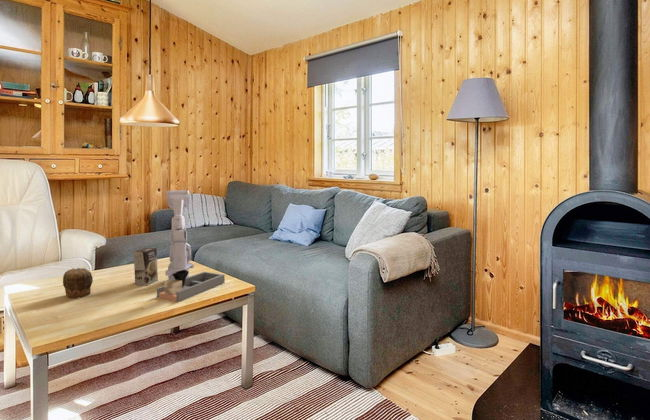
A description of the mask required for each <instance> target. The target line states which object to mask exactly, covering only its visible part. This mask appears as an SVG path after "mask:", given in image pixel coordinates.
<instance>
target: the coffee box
mask: <svg viewBox="0 0 650 420" xmlns="http://www.w3.org/2000/svg"><path fill="white" fill-rule="evenodd" d="M157 251H158V250H157V247H144V248H140V249H137V250H134V251H133V263H134V265H133V267H134V285H135V286H146V287H147V286H149V285H151V284H153V283H156V282H158V281H159V275H158V273H159V272H158V252H157Z"/></svg>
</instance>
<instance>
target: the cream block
mask: <svg viewBox="0 0 650 420" xmlns="http://www.w3.org/2000/svg"><path fill="white" fill-rule="evenodd" d="M163 283H164V284H163V286H164V288H165V294H169V295H176V292H178V291H181V290H182V280H176V279H172V280H169V281H167V280H166V281H164V282H163Z"/></svg>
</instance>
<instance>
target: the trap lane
mask: <svg viewBox="0 0 650 420" xmlns="http://www.w3.org/2000/svg"><path fill="white" fill-rule="evenodd" d="M225 281H226V280H225V274H222V273H215V272H210V271H202V272H199V273H195V274H193V275H189V277H187V278H186V279H185V283H184V287H183V288H182V290H181V291H178V292H176V295H169V294H165V288H164V285H162V286H159V287H157V288H156V298H159V299H162V300H163V299H164V300H169V301H174V302H178V303H179V302H182V301H184V300H187V299H189V298H192V297H194V296H196V295H199V294H201V293H204V292H206V291H208V290H211V289H213V288H215V287H218V286H220V285H221V286H222V285H223V284H225V283H226V282H225Z"/></svg>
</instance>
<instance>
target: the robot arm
mask: <svg viewBox="0 0 650 420" xmlns="http://www.w3.org/2000/svg"><path fill="white" fill-rule="evenodd" d="M166 201H167V206H168V208H170V209H172V210H173V215H174V216H172V218H171V232H170V243H171V245H170V246H169V262H170V263H169V264H168V267H167V270H165V271H164V272H165V276H167V277H168V279H167V280H166V281H169V280H172V279H176V280H182V288H183V287H184V283H185V279H186V278H187V277H190V269H193V268H195V264H194V263H192V262H191V261H192V249H191V248H192V247H191V245H190V244H189V243H188V235H187V234H188V233H187V232H188V231H187V227H186V226H187V225H186V218H185V215H184V212H185V209H186V208H188V207H190V191H189V190H188V189H185V190H182V189H181V190H180V189H179V190H170V189H169V190H167V191H166Z"/></svg>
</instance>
